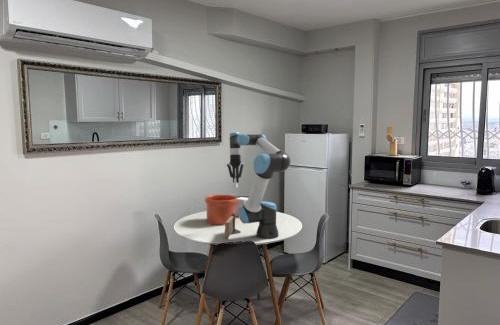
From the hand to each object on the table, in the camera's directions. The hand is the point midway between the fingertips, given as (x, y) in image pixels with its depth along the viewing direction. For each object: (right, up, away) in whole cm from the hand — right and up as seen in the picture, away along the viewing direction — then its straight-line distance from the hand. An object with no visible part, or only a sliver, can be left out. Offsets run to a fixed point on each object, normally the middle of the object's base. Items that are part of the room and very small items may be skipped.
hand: (236, 187), depth 260 cm
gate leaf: (-4, -31, -14) cm, 34 cm away
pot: (-13, -29, +26) cm, 41 cm away
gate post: (-2, -32, -3) cm, 32 cm away
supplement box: (+4, -27, +45) cm, 53 cm away
